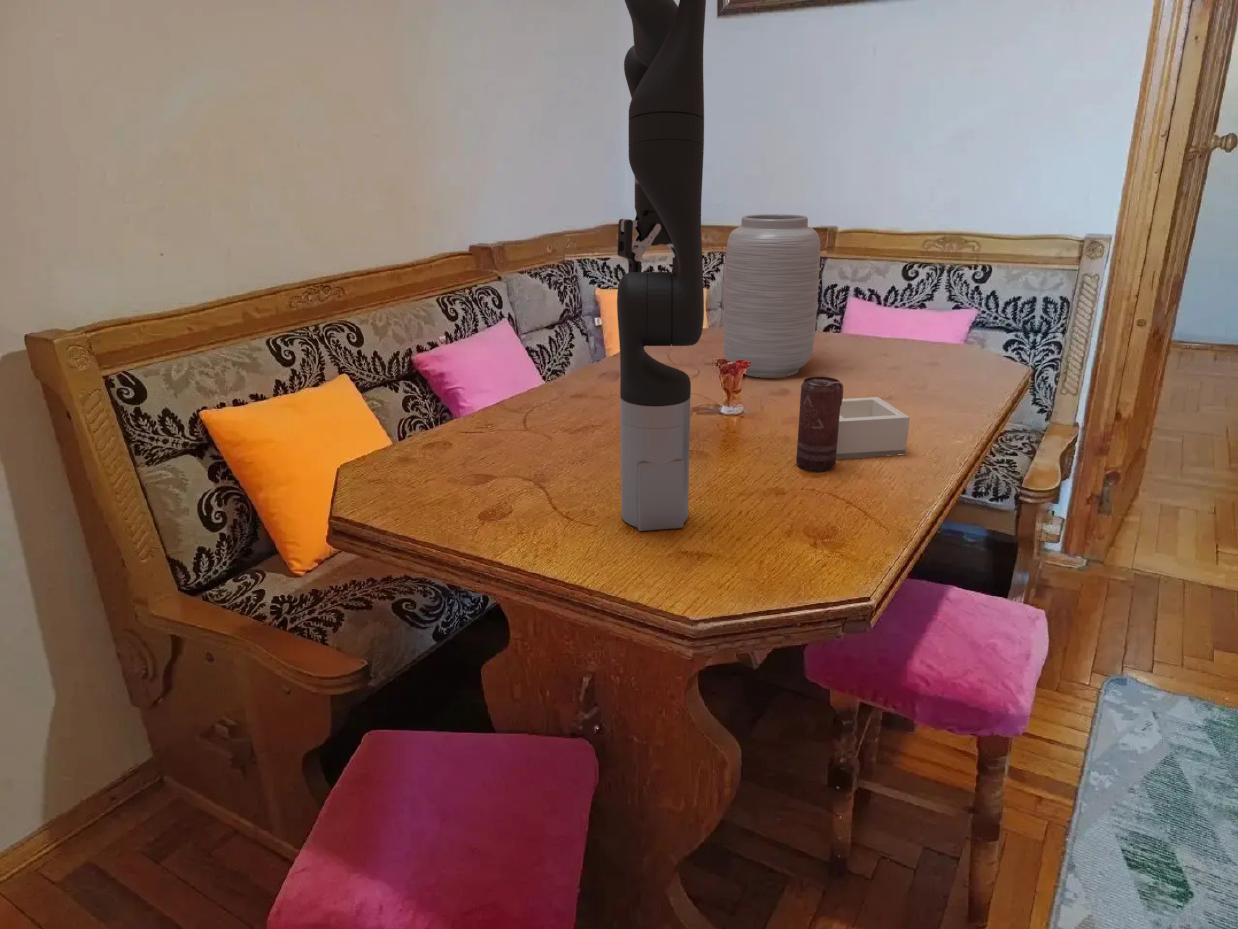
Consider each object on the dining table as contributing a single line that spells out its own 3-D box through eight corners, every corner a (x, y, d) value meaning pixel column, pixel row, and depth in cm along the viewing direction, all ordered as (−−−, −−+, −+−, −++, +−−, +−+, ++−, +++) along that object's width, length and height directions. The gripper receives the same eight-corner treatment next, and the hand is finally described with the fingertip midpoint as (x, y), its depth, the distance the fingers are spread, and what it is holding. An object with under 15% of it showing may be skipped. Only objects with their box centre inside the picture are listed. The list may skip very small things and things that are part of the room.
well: (905, 455, 138) (909, 417, 136) (835, 459, 137) (838, 421, 135) (874, 432, 150) (877, 396, 147) (809, 436, 148) (811, 400, 146)
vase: (743, 385, 180) (750, 221, 168) (708, 363, 198) (712, 214, 186) (828, 377, 185) (841, 218, 173) (787, 357, 203) (796, 211, 191)
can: (837, 473, 131) (845, 386, 126) (795, 471, 132) (801, 384, 127) (836, 460, 137) (843, 376, 132) (796, 458, 138) (801, 374, 133)
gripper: (633, 181, 130) (634, 287, 136) (706, 179, 137) (704, 280, 143) (608, 180, 136) (609, 282, 142) (679, 179, 143) (678, 276, 149)
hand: (657, 281), depth 142 cm, fingers open, 8 cm apart
